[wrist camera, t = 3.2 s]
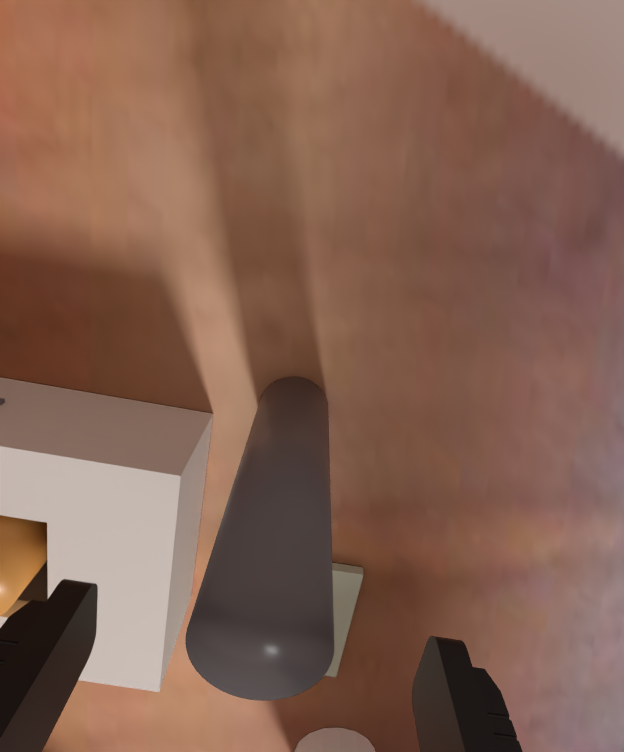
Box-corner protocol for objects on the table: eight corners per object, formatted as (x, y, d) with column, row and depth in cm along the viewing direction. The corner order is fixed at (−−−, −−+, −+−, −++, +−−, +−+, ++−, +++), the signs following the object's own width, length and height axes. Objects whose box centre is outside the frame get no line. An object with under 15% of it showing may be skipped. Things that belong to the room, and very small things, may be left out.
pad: (362, 567, 28) (363, 574, 27) (335, 668, 30) (336, 677, 30) (224, 545, 27) (222, 552, 27) (209, 649, 30) (207, 658, 30)
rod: (334, 383, 24) (348, 600, 11) (321, 445, 25) (319, 709, 12) (264, 371, 24) (193, 577, 11) (254, 433, 25) (179, 688, 12)
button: (70, 488, 24) (14, 550, 19) (69, 554, 25) (17, 626, 21) (-14, 474, 23) (-88, 534, 19) (-10, 542, 25) (-79, 612, 20)
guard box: (213, 410, 25) (181, 471, 19) (191, 595, 29) (159, 691, 23) (-107, 355, 24) (-239, 402, 18) (-84, 553, 28) (-186, 641, 22)
